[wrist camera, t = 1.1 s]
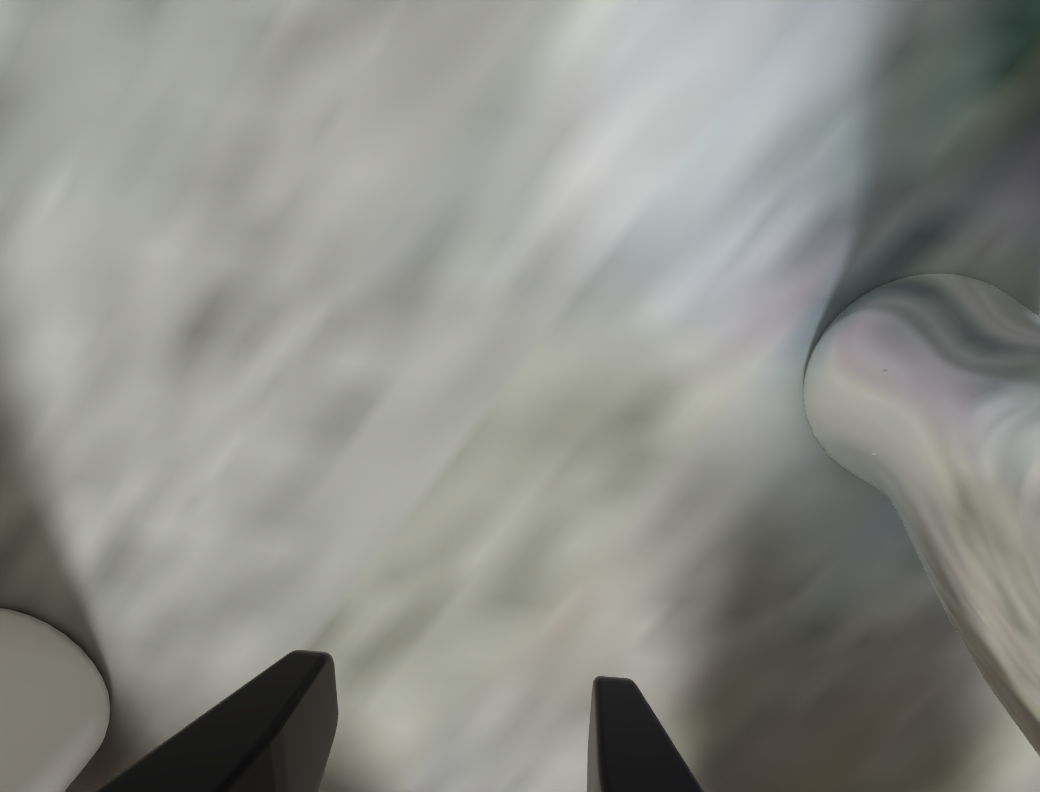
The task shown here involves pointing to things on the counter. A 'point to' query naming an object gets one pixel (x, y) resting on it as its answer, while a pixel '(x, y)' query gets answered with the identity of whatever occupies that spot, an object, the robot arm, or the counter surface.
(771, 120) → the counter surface
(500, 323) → the counter surface
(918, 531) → the beer glass
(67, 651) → the milk bottle
